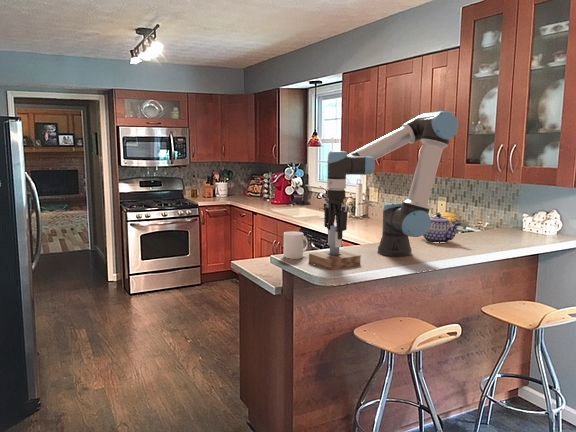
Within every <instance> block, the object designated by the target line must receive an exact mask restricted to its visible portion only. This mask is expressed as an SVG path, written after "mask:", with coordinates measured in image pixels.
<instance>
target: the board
mask: <svg viewBox="0 0 576 432" xmlns="http://www.w3.org/2000/svg"><path fill="white" fill-rule="evenodd" d="M308 263H309V264H311V263H312V264H311V265H314V264H315V266H317V267H321V268H322V269H325V270H328V271H332V270H338V269H344V268H350V267H355V266H360V265H361V254H356V253H353V252H351V251H350V252H349V251H346V250H343V249H340V248H339V255H338V256H332V255H330V250H324V251H323V250H322V251H316V252H311V253H310V252H309V253H308Z"/></svg>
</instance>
